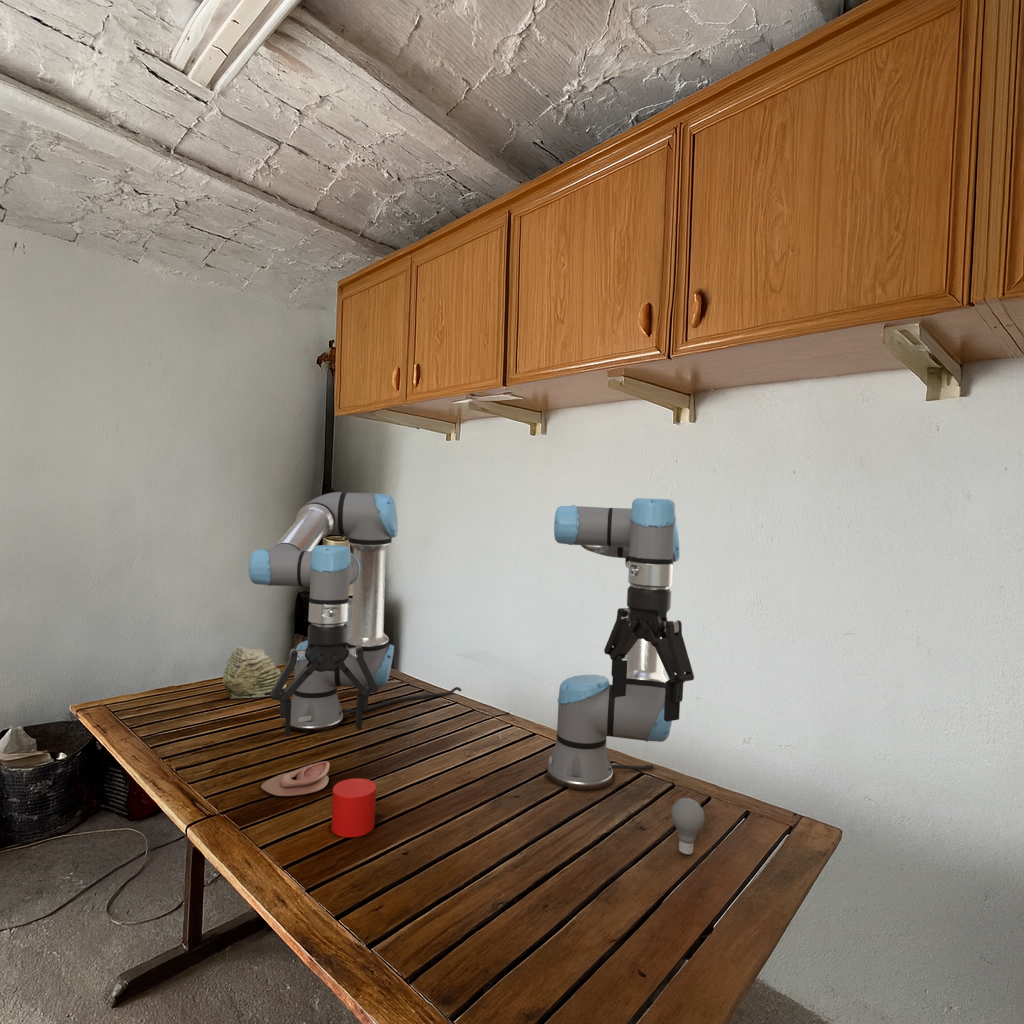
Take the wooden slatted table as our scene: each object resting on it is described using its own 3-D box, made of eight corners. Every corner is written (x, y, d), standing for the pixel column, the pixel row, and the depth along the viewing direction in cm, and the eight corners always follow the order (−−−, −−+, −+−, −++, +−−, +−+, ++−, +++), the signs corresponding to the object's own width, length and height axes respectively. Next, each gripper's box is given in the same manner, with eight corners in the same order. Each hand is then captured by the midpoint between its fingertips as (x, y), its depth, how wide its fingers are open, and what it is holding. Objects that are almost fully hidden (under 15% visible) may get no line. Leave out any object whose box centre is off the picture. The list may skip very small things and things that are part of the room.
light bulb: (664, 843, 121) (667, 792, 121) (695, 843, 121) (698, 792, 121) (675, 861, 115) (678, 807, 115) (707, 861, 115) (710, 807, 115)
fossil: (218, 695, 195) (220, 647, 195) (278, 685, 208) (279, 640, 207) (228, 703, 189) (230, 653, 188) (289, 692, 201) (290, 645, 201)
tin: (322, 830, 120) (323, 791, 120) (348, 812, 128) (350, 775, 128) (357, 841, 117) (359, 801, 117) (382, 821, 125) (384, 783, 125)
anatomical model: (253, 773, 134) (283, 753, 145) (252, 792, 134) (282, 770, 145) (310, 782, 131) (336, 760, 142) (309, 801, 131) (335, 777, 143)
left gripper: (260, 629, 117) (256, 744, 117) (394, 625, 127) (390, 731, 127) (260, 622, 124) (255, 730, 124) (387, 618, 134) (382, 719, 134)
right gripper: (589, 578, 119) (583, 689, 120) (686, 598, 98) (679, 734, 98) (620, 577, 123) (615, 685, 124) (720, 596, 102) (713, 728, 102)
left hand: (323, 730), depth 125 cm, fingers open, 13 cm apart
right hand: (643, 707), depth 111 cm, fingers open, 13 cm apart
